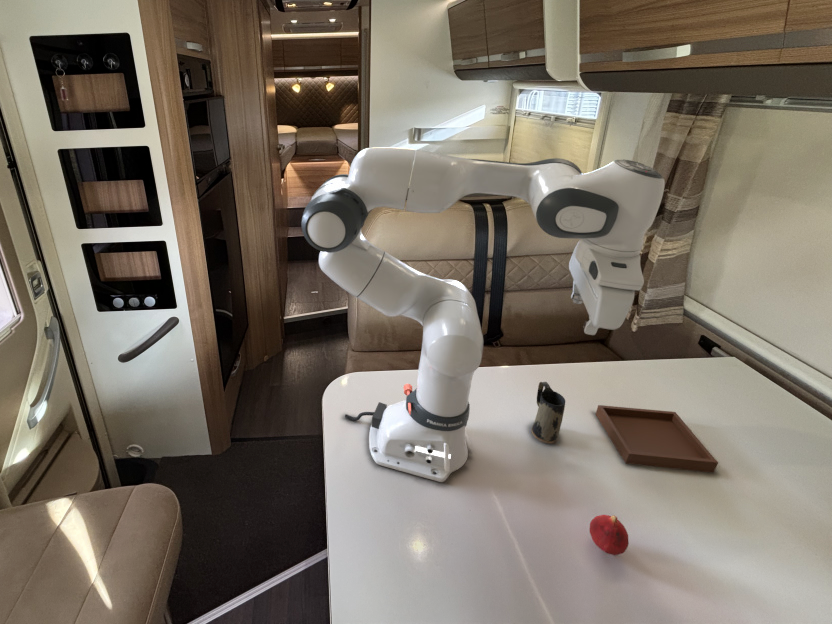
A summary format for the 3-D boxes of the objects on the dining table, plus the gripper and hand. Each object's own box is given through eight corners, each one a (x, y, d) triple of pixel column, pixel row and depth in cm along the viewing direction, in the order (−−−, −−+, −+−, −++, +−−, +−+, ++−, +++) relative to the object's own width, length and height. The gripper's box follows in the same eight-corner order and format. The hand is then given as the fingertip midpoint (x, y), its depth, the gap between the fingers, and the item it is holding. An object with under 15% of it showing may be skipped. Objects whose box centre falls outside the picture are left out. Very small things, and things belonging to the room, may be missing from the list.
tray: (625, 463, 94) (629, 453, 93) (595, 414, 107) (598, 404, 106) (713, 472, 92) (718, 462, 91) (671, 421, 105) (675, 411, 104)
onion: (628, 568, 74) (641, 538, 71) (592, 561, 76) (603, 531, 73) (614, 534, 80) (625, 505, 77) (580, 528, 81) (590, 499, 78)
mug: (562, 443, 99) (573, 403, 95) (539, 444, 99) (549, 404, 94) (544, 417, 106) (553, 379, 102) (522, 418, 106) (531, 380, 102)
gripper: (572, 225, 83) (553, 283, 90) (602, 282, 66) (576, 348, 73) (608, 229, 82) (586, 288, 88) (648, 288, 65) (617, 356, 71)
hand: (581, 316), depth 80 cm, fingers open, 8 cm apart
